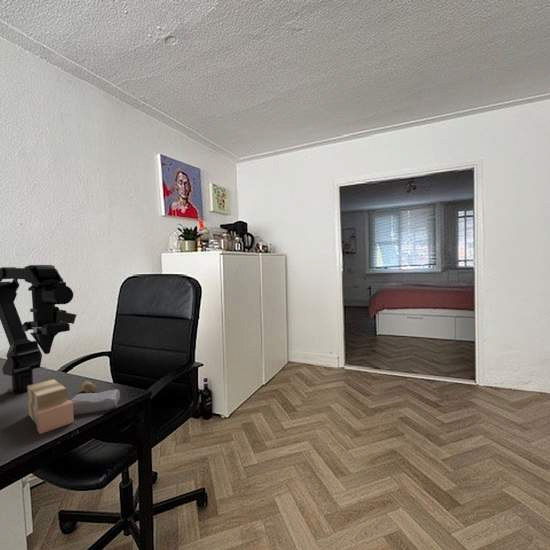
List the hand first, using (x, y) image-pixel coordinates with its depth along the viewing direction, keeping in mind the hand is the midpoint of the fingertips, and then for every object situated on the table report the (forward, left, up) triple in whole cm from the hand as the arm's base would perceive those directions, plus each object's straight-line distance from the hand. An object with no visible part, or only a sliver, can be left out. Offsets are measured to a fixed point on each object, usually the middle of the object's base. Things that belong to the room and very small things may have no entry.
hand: (47, 353), depth 96 cm
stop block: (+25, -9, -13) cm, 30 cm away
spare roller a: (+9, +6, -12) cm, 16 cm away
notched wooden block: (+18, -8, -13) cm, 23 cm away
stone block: (+22, +3, -14) cm, 26 cm away
